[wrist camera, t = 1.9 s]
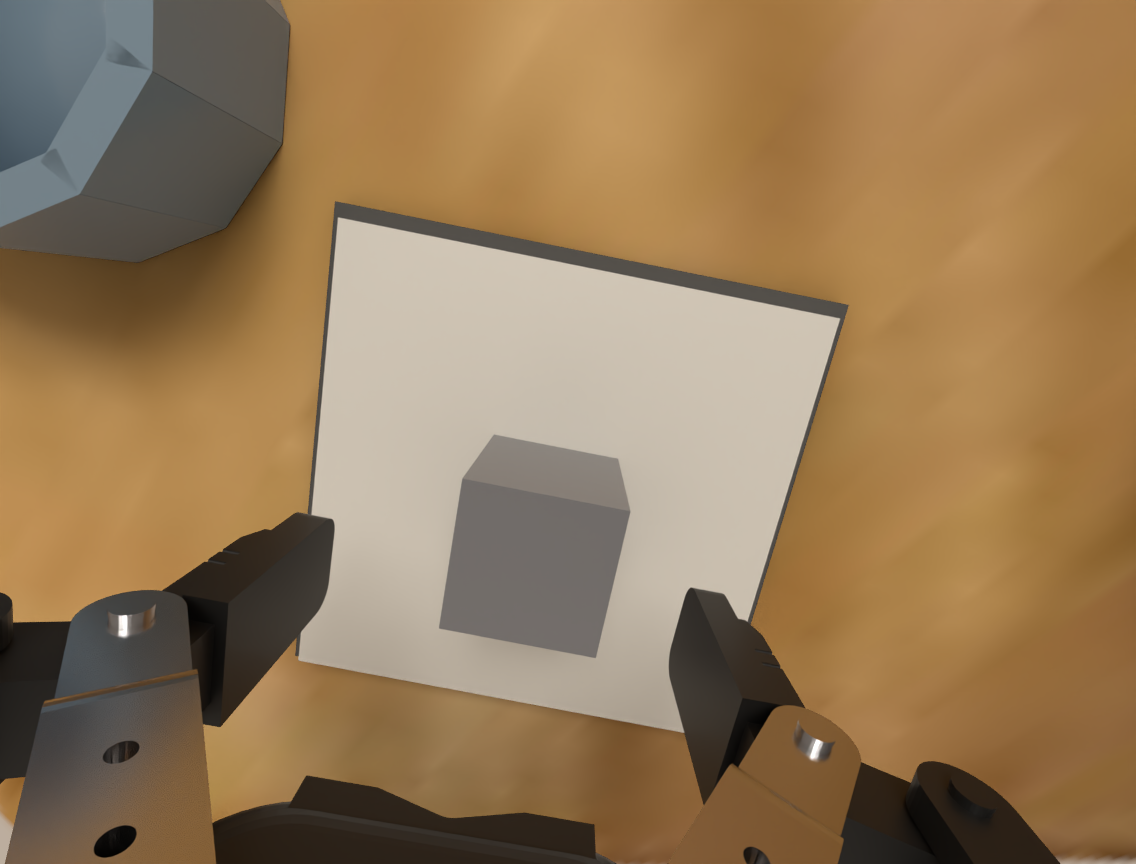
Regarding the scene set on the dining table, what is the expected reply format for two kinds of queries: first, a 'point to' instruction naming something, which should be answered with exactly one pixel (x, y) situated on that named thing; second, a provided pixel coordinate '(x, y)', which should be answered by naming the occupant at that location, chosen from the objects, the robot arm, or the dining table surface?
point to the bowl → (134, 120)
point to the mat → (590, 262)
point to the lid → (544, 468)
